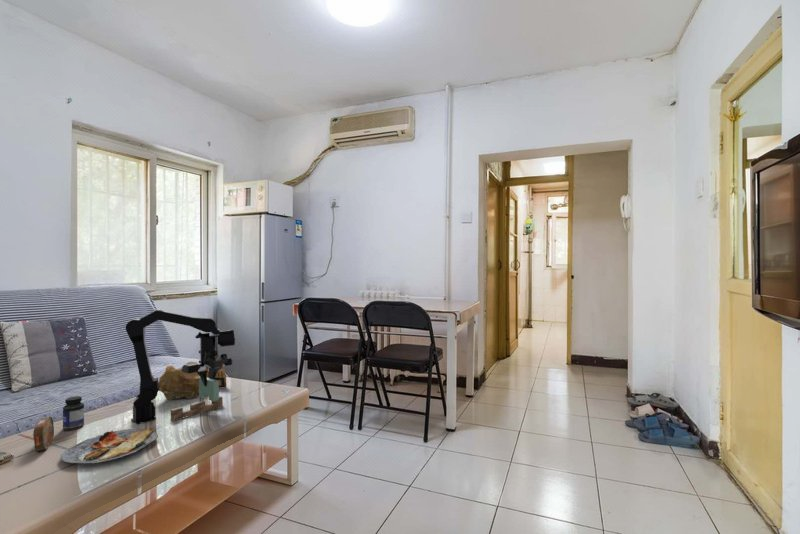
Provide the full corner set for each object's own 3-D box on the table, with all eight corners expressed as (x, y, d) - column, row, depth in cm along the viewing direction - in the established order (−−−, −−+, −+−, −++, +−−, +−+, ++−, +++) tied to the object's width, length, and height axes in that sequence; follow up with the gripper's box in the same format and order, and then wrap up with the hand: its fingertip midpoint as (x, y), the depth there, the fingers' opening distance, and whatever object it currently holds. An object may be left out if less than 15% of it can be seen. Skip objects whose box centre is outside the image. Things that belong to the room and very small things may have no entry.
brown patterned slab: (44, 453, 125) (44, 426, 125) (31, 456, 123) (31, 429, 123) (55, 437, 138) (54, 413, 138) (43, 439, 136) (42, 415, 136)
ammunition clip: (204, 388, 196) (203, 363, 196) (206, 386, 198) (206, 363, 198) (224, 388, 195) (224, 363, 196) (226, 386, 197) (226, 363, 197)
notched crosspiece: (214, 401, 159) (213, 381, 159) (198, 396, 166) (198, 377, 166) (218, 400, 161) (218, 380, 161) (203, 395, 168) (203, 376, 168)
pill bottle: (61, 428, 146) (61, 398, 146) (82, 423, 150) (82, 394, 151) (64, 432, 142) (64, 401, 142) (85, 427, 146) (85, 397, 146)
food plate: (107, 433, 139) (107, 423, 139) (171, 434, 139) (171, 424, 139) (41, 470, 114) (40, 458, 114) (118, 471, 114) (118, 459, 114)
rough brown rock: (184, 406, 170) (187, 372, 171) (150, 402, 173) (153, 368, 174) (217, 392, 193) (220, 362, 194) (187, 388, 196) (189, 358, 197)
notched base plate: (173, 420, 151) (173, 410, 151) (170, 419, 152) (170, 409, 152) (222, 406, 167) (222, 396, 167) (220, 405, 168) (219, 396, 168)
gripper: (195, 353, 152) (195, 394, 151) (239, 346, 167) (239, 383, 166) (181, 351, 158) (181, 389, 158) (225, 343, 173) (225, 379, 173)
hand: (208, 385), depth 163 cm, fingers closed on notched crosspiece, 2 cm apart
